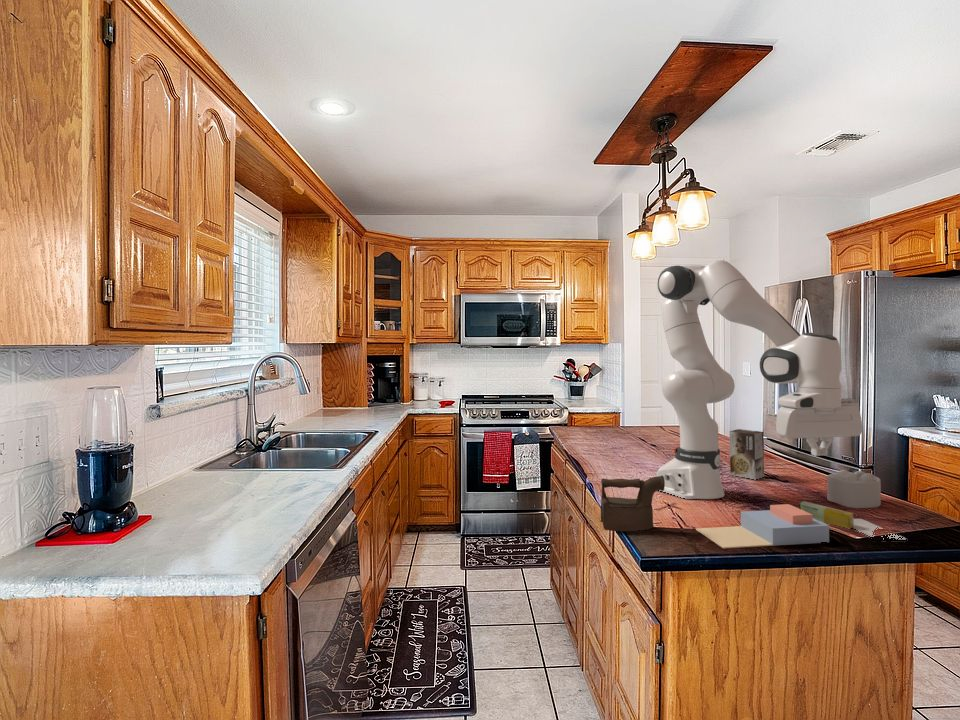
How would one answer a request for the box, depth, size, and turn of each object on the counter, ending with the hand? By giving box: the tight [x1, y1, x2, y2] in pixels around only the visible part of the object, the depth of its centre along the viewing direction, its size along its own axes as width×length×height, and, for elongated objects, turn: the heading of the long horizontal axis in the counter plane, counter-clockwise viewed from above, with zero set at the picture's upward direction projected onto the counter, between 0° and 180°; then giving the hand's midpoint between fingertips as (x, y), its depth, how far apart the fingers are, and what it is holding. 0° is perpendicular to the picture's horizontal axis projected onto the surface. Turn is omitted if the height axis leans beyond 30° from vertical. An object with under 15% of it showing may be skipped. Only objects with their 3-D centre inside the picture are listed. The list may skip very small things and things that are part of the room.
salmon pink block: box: [769, 503, 813, 524], centre depth 122 cm, size 5×8×2 cm, turn 5°
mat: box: [695, 525, 773, 549], centre depth 121 cm, size 12×12×1 cm
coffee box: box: [729, 428, 765, 481], centre depth 175 cm, size 9×6×16 cm
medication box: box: [798, 500, 854, 529], centre depth 130 cm, size 12×3×4 cm, turn 32°
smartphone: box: [852, 517, 908, 540], centre depth 124 cm, size 7×1×15 cm
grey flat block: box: [740, 509, 830, 547], centre depth 122 cm, size 14×12×4 cm
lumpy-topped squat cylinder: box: [826, 469, 882, 509], centre depth 146 cm, size 10×13×9 cm
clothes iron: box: [600, 475, 665, 532], centre depth 129 cm, size 8×16×13 cm, turn 79°
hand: (819, 455), depth 122 cm, fingers closed
